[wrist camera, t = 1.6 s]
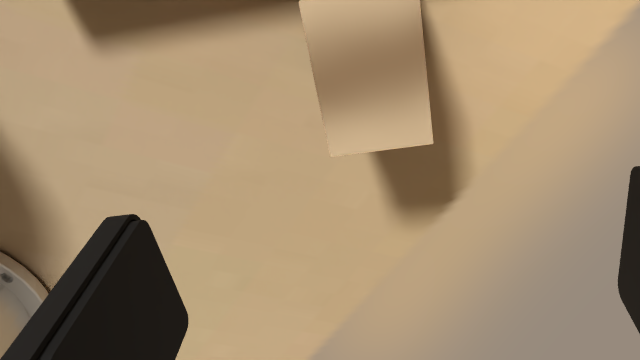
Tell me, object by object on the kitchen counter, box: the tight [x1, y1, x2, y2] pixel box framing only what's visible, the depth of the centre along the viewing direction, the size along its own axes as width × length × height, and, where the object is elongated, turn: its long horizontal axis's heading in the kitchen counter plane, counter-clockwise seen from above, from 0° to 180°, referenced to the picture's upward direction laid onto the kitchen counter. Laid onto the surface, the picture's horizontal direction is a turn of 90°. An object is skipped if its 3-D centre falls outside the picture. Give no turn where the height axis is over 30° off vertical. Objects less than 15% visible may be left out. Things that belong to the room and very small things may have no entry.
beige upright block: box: [299, 0, 433, 157], centre depth 23 cm, size 6×4×9 cm, turn 11°
